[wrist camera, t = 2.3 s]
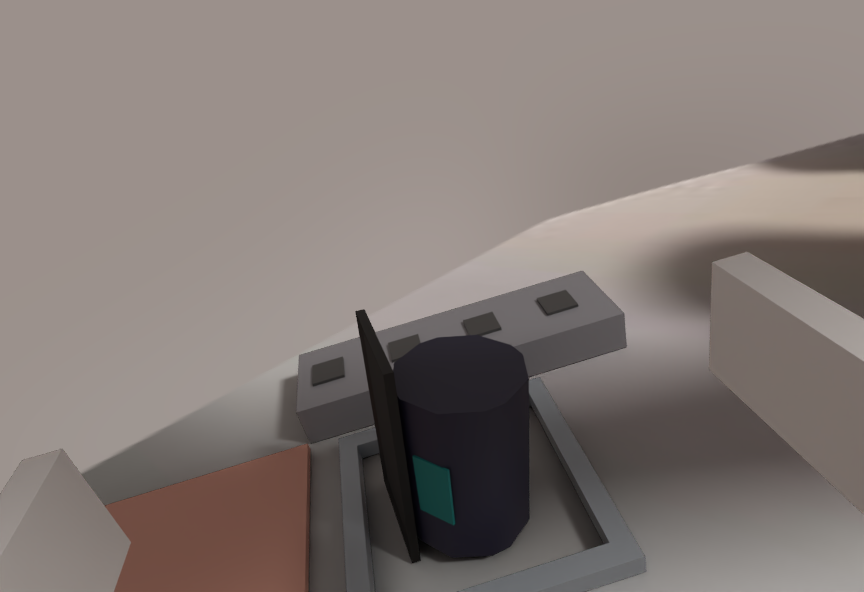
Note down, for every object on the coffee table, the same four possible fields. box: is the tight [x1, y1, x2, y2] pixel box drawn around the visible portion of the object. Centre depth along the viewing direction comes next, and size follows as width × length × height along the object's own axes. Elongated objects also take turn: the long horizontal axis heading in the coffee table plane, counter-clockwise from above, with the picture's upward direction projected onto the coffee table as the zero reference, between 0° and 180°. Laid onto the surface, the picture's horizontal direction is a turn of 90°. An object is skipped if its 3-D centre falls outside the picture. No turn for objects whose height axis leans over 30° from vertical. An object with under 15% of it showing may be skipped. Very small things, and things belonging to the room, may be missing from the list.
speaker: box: [356, 310, 529, 563], centre depth 25 cm, size 8×6×10 cm
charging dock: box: [296, 271, 646, 592], centre depth 30 cm, size 20×20×3 cm
